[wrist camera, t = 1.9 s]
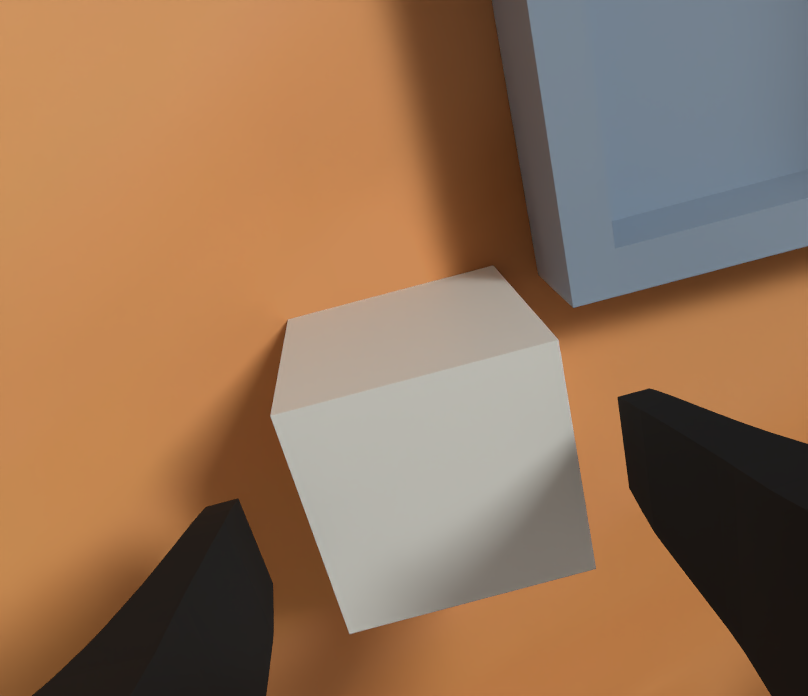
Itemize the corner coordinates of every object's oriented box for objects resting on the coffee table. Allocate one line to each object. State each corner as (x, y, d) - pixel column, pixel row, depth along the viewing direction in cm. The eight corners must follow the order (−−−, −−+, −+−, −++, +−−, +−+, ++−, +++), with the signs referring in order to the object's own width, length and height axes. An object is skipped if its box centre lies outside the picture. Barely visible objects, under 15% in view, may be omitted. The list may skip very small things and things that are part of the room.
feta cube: (527, 442, 18) (595, 568, 13) (345, 490, 18) (349, 634, 13) (492, 264, 16) (558, 339, 11) (288, 318, 16) (270, 415, 11)
